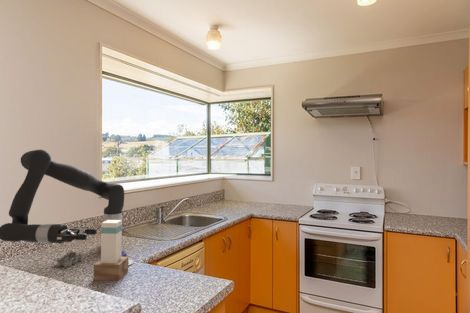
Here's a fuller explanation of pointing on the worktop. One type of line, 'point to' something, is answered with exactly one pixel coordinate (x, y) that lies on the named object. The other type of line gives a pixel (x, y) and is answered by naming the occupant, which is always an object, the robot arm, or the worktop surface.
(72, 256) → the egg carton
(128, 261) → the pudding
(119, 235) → the milk carton
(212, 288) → the worktop surface
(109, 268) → the brown square block
